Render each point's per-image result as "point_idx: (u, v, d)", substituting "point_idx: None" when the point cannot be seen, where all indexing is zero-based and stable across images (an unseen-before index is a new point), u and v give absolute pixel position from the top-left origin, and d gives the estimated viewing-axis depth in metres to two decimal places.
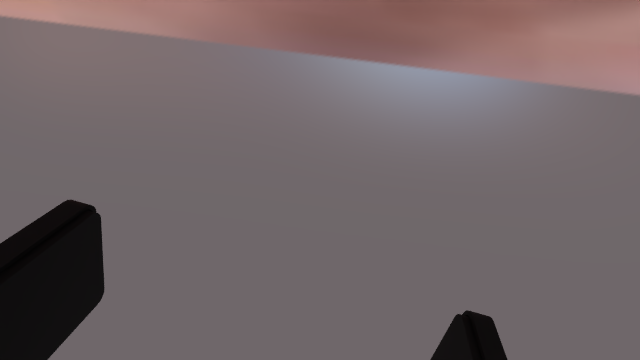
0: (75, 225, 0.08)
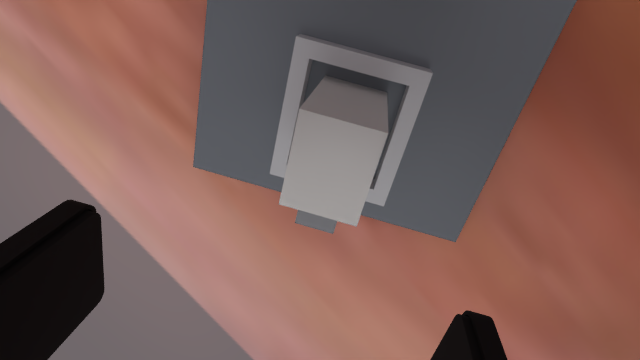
0: (75, 225, 0.08)
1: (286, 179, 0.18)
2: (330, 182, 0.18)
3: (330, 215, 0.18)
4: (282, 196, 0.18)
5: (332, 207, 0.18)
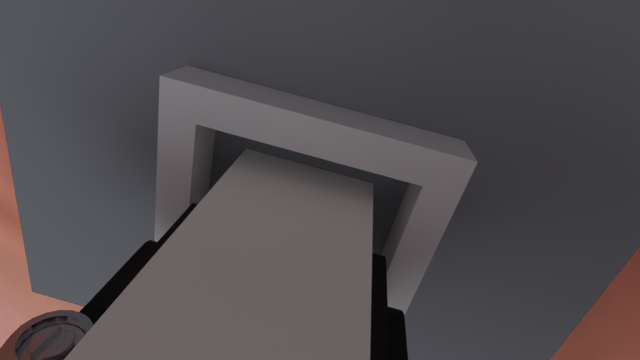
0: None
1: None
2: None
3: None
4: None
5: None
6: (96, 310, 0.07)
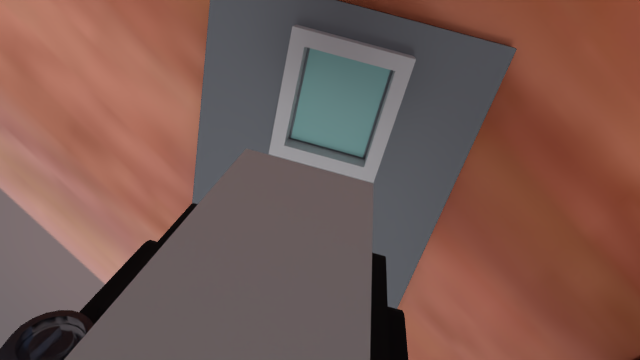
0: None
1: None
2: None
3: None
4: None
5: None
6: (96, 310, 0.07)
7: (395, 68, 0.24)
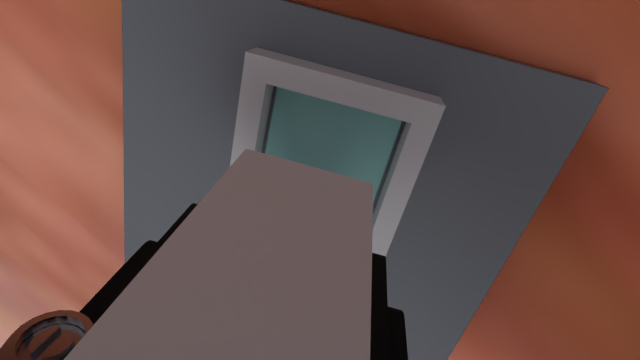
0: None
1: None
2: None
3: None
4: None
5: None
6: (96, 310, 0.07)
7: (411, 119, 0.15)
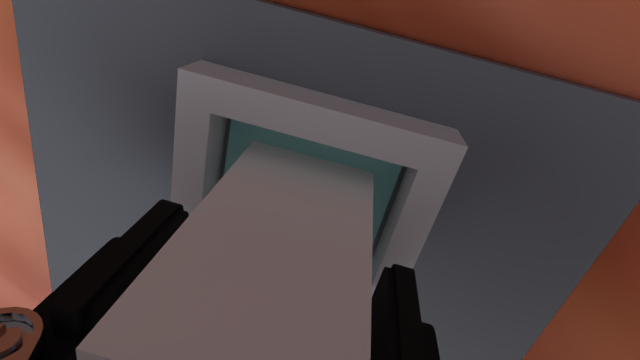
0: (172, 222, 0.09)
1: None
2: None
3: None
4: None
5: None
6: None
7: (418, 164, 0.10)
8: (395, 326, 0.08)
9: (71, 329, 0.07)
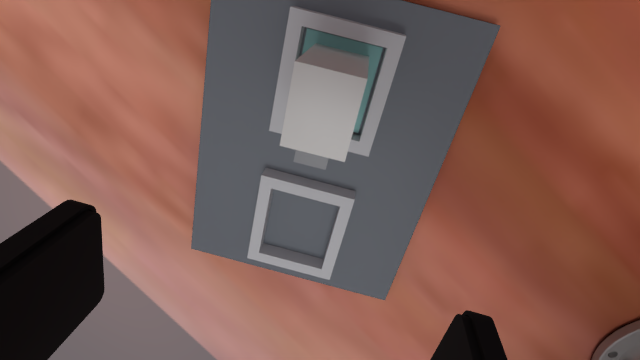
0: (75, 225, 0.08)
1: (285, 123, 0.22)
2: (321, 124, 0.21)
3: (322, 153, 0.22)
4: (282, 138, 0.22)
5: (324, 146, 0.22)
6: None
7: (387, 45, 0.25)
8: None
9: None
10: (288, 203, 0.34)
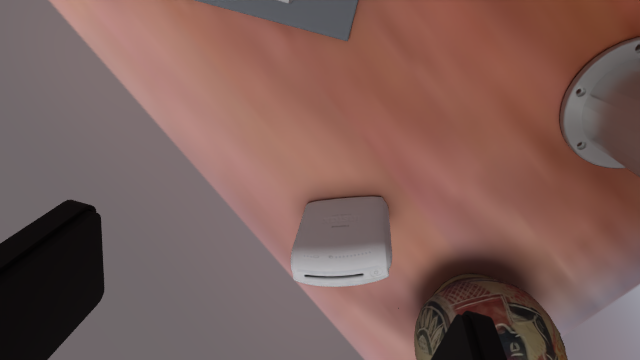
0: (75, 225, 0.08)
1: None
2: None
3: None
4: None
5: None
6: None
7: None
8: None
9: None
10: None
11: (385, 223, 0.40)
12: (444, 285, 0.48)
